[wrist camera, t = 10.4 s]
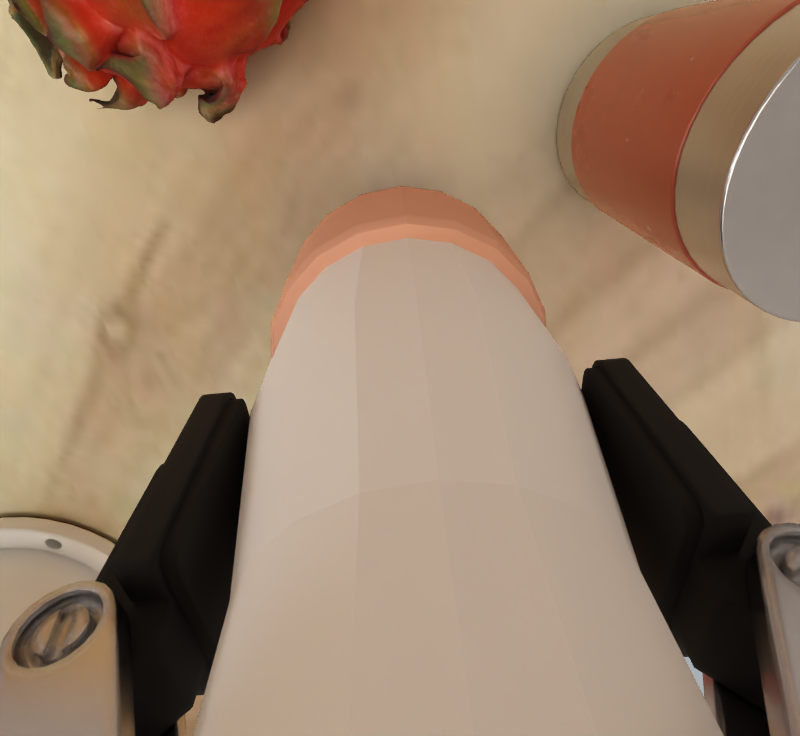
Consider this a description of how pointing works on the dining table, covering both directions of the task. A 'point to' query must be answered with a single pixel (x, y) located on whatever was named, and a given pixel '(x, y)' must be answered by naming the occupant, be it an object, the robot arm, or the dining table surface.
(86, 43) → the dragon fruit
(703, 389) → the dining table surface
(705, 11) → the tin can
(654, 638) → the salt shaker
